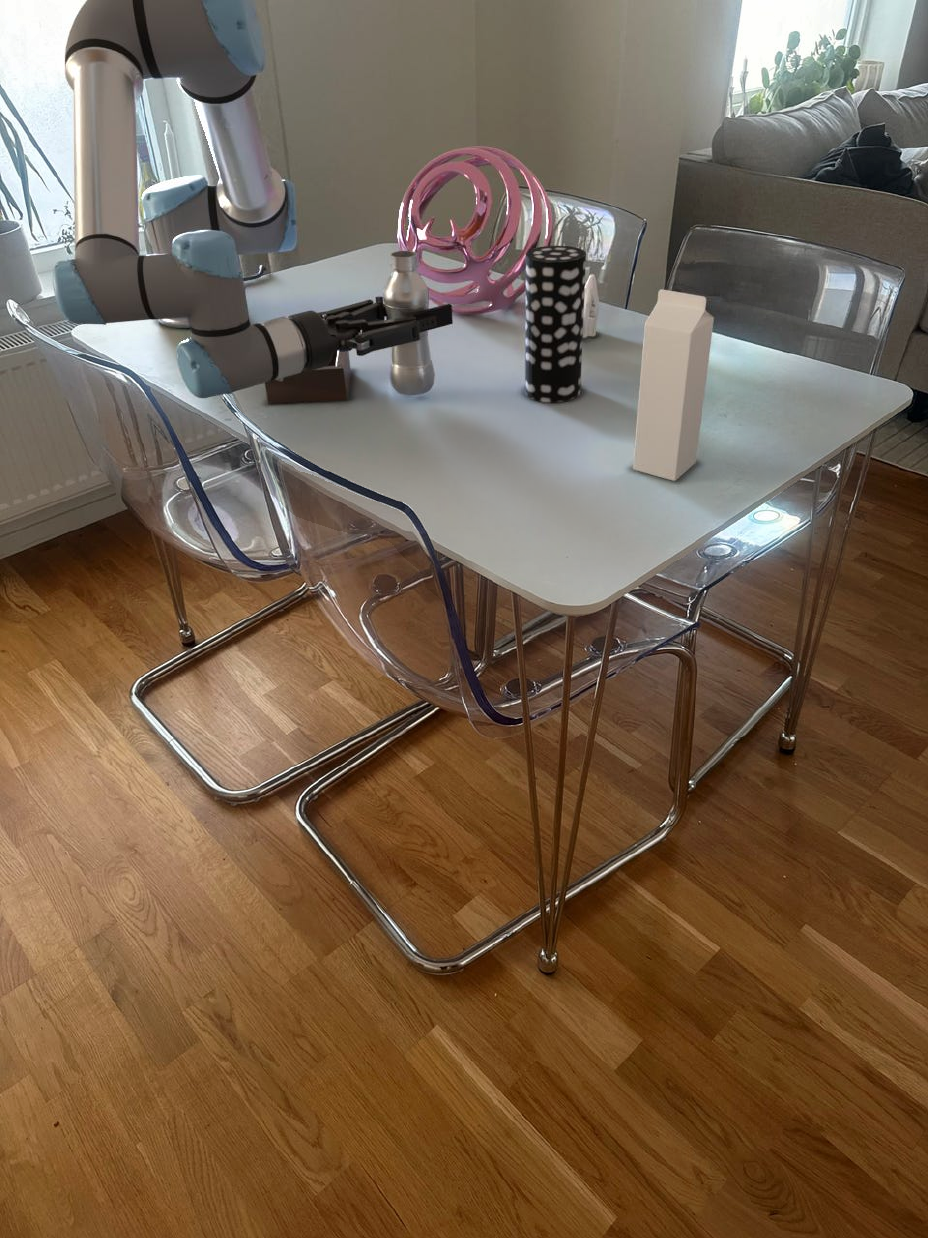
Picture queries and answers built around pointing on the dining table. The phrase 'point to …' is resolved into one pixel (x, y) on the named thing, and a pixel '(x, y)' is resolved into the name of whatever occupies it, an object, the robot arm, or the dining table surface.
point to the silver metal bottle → (402, 299)
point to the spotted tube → (554, 322)
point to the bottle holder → (313, 383)
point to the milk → (672, 384)
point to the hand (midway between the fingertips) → (437, 307)
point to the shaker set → (590, 307)
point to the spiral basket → (473, 228)
